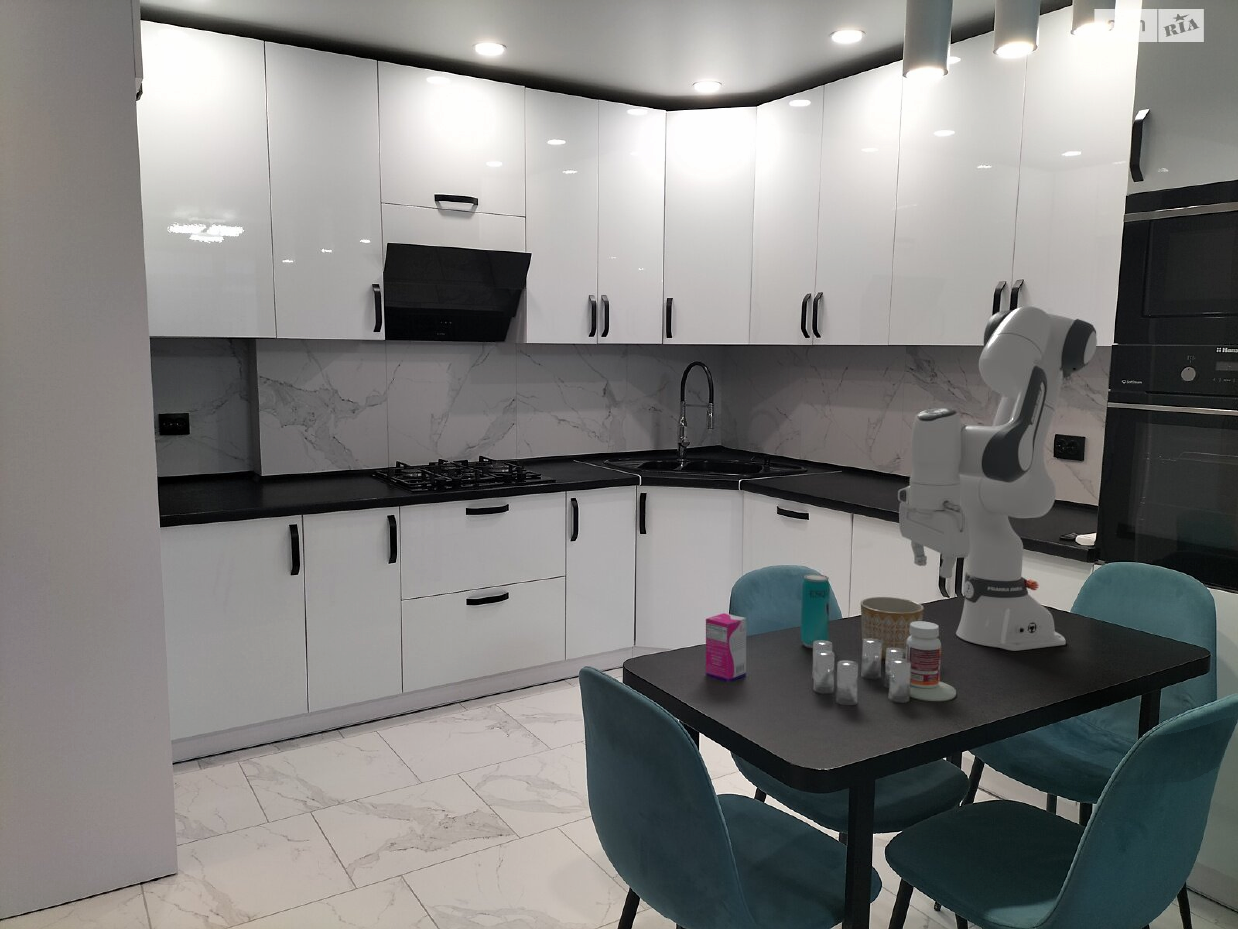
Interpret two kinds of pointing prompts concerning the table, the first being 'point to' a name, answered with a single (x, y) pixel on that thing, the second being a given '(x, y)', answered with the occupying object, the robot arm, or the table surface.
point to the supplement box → (726, 647)
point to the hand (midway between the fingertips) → (932, 571)
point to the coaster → (933, 693)
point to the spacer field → (871, 669)
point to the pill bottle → (924, 654)
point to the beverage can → (814, 609)
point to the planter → (889, 620)
